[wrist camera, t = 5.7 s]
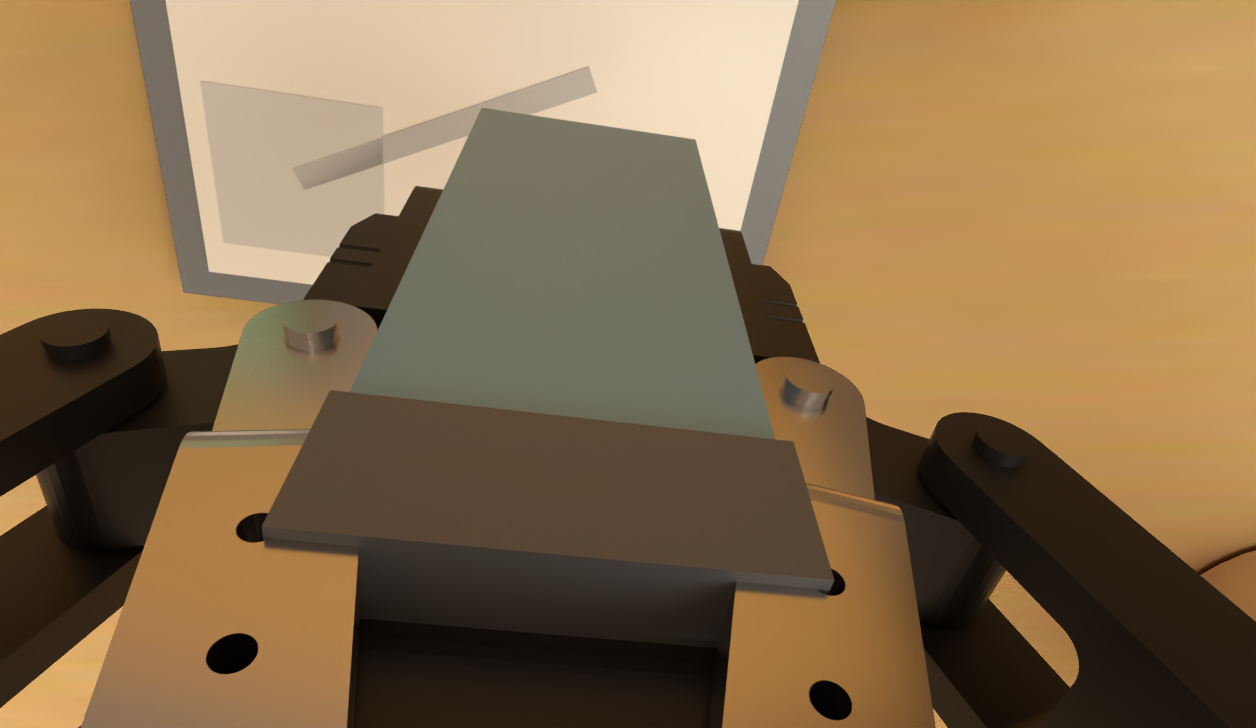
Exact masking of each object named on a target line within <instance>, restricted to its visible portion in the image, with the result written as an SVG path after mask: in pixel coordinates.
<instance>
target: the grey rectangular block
mask: <svg viewBox="0 0 1256 728" xmlns="http://www.w3.org/2000/svg"><path fill="white" fill-rule="evenodd" d="M262 533H263V540H264V541H265V540H268V539H270V538H272V539H283V540H294V541H305V542H315V543H326V544H337V545H348V546H359V558H360V577H361V596H362V602H361V619H372V620H384V621H396V622H408V623H420V624H432V625H444V626H456V627H468V628H480V629H492V630H504V631H516V632H528V633H540V634H552V635H564V636H576V637H588V638H600V639H612V640H624V641H636V642H648V643H660V644H672V645H684V646H696V647H708V648H718V639H719V630H720V627H721V624H722V621H723V618H724V615H725V613H726V610H727V607H728V604H729V601H730V598H731V595H732V592H733V589H734V586H735V584H736V581H739V582H749V583H760V584H771V585H782V586H793V587H804V588H814V589H816V590H818V591H819V592H821V593H823V594H826V595H828V593H829V591H830V589H831V587H832V584H833V582H834V577H833V574H832V570H831V567H830V564H829V560H828V557H827V554H826V550H825V547H824V543H823V540H822V537H821V533H820V530H819V526H818V523H817V520H816V516H815V513H814V509H813V506H812V503H811V499H810V496H809V492H808V489H807V486H806V482H805V479H804V476H803V472H802V469H801V465H800V462H799V459H798V455H797V452H796V448H795V445H794V442H793V441H785V440H776V439H775V436H774V433H773V429H772V425H771V421H770V418H769V414H768V410H767V406H766V403H765V399H764V395H763V391H762V388H761V384H760V380H759V376H758V372H757V369H756V365H755V361H754V357H753V354H752V350H751V346H750V342H749V339H748V335H747V331H746V327H745V324H744V320H743V316H742V312H741V309H740V305H739V301H738V297H737V294H736V290H735V286H734V282H733V279H732V275H731V271H730V267H729V264H728V260H727V256H726V252H725V249H724V245H723V241H722V237H721V234H720V230H719V226H718V222H717V219H716V215H715V211H714V207H713V204H712V200H711V196H710V192H709V189H708V185H707V181H706V177H705V173H704V170H703V166H702V162H701V158H700V155H699V151H698V147H697V143H696V140H695V139H689V138H682V137H676V136H669V135H662V134H655V133H649V132H642V131H635V130H628V129H622V128H615V127H608V126H602V125H595V124H588V123H581V122H575V121H568V120H561V119H554V118H548V117H541V116H534V115H527V114H521V113H514V112H507V111H501V110H494V109H487V108H481V110H480V112H479V114H478V116H477V119H476V121H475V123H474V125H473V127H472V129H471V132H470V134H469V136H468V138H467V140H466V142H465V144H464V147H463V149H462V151H461V153H460V155H459V157H458V159H457V162H456V164H455V166H454V168H453V170H452V172H451V174H450V177H449V179H448V181H447V183H446V185H445V187H444V189H443V192H442V194H441V196H440V198H439V200H438V202H437V204H436V207H435V209H434V211H433V213H432V215H431V217H430V219H429V222H428V224H427V226H426V228H425V230H424V232H423V234H422V237H421V239H420V241H419V243H418V245H417V247H416V250H415V252H414V254H413V256H412V258H411V260H410V262H409V265H408V267H407V269H406V271H405V273H404V275H403V277H402V280H401V282H400V284H399V286H398V288H397V290H396V292H395V295H394V297H393V299H392V301H391V303H390V305H389V307H388V310H387V312H386V314H385V316H384V318H383V320H382V322H381V325H380V327H379V329H378V331H377V333H376V335H375V337H374V340H373V342H372V344H371V346H370V348H369V350H368V352H367V355H366V357H365V359H364V361H363V363H362V365H361V368H360V370H359V372H358V374H357V376H356V378H355V380H354V383H353V385H352V387H351V389H350V391H349V392H343V391H334V390H330V391H329V393H328V395H327V397H326V399H325V401H324V403H323V405H322V407H321V409H320V411H319V413H318V415H317V417H316V419H315V421H314V423H313V425H312V427H311V429H310V431H309V433H308V435H307V437H306V439H305V441H304V443H303V445H302V447H301V449H300V451H299V453H298V455H297V457H296V459H295V461H294V463H293V465H292V467H291V469H290V471H289V473H288V475H287V477H286V479H285V481H284V483H283V485H282V487H281V489H280V491H279V493H278V495H277V497H276V499H275V501H274V503H273V505H272V507H271V509H270V511H269V513H268V515H267V517H266V519H265V521H264V523H263V525H262Z"/></svg>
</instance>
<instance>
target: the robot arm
mask: <svg viewBox="0 0 1256 728" xmlns="http://www.w3.org/2000/svg"><path fill="white" fill-rule="evenodd" d="M442 192H443V189H437V188H429V187H422V186H415V187H414V189H413V191H412V192H411V194H410V196H409V198H408V200H407V202H406V203H405V205H404V207H403V209H402V211H401V213H400V214H399V216H393V215H385V214H378V213H375V214H373V215H371V216H369V217H368V218H366V219H364V220H362V221H360V222H358V223H356V224H354V225H353V226H351V227H350V229H349V230H348V232H347V233H346V235H345V236H344V238H343V239H342V241H341V242H340V244H339V248H338V247H337V248H336V250H335V251H334V253H333V255H332V256H331V258H330V262H327V264H326V265H325V267H324V268H323V270H322V271H321V273H320V274H319V276H318V278H317V279H316V281H315V282H314V284H313V285H312V287H311V288H310V290H309V291H308V293H307V294H306V296H305V297H304V299H303V300H300V301H292V302H287V303H283V304H279V305H276V306H273V307H271V308H268V309H266V310H264V311H262V312H260V313H258V314H257V315H255V316H254V317H253V318H252V319H250V321H249V322H248V323H247V324H246V325H245V327H244V329H243V332H242V335H241V338H240V342H239V344H238V345H233V346H227V347H218V348H206V349H191V350H176V351H161V347H160V342H159V337H158V333H157V330H156V328H155V327H154V326H153V324H152V323H150V322H149V321H148V320H146V319H145V318H143V317H141V316H139V315H136V314H133V313H129V312H125V311H120V310H112V309H81V310H73V311H66V312H61V313H56V314H52V315H48V316H45V317H42V318H38V319H36V320H33V321H31V322H28V323H26V324H24V325H21V326H19V327H17V328H15V329H12V330H10V331H8V332H6V333H4V334H1V335H0V496H2V495H4V494H5V493H7V492H8V491H10V490H12V489H13V488H15V487H17V486H18V485H20V484H21V483H23V482H25V481H26V480H28V479H30V478H31V477H33V476H34V475H36V476H37V479H38V482H39V485H40V487H41V490H42V493H43V496H44V498H45V501H46V504H47V506H45V507H44V508H42V509H41V510H39V511H38V512H36V513H35V514H33V515H32V516H30V517H29V518H27V519H25V520H24V521H22V522H21V523H19V524H18V525H16V526H15V527H13V528H12V529H10V530H9V531H7V532H6V533H4V534H3V535H1V536H0V708H1V707H2V706H3V705H5V704H6V703H7V702H8V701H9V700H10V699H12V698H13V697H14V696H15V695H16V694H18V693H19V692H20V691H21V690H22V689H24V688H25V687H26V686H27V685H28V684H30V683H31V682H32V681H33V680H34V679H36V678H37V677H38V676H39V675H40V674H42V673H43V672H44V671H45V670H46V669H48V668H49V667H50V666H51V665H52V664H54V663H55V662H56V661H57V660H58V659H60V658H61V657H62V656H63V655H64V654H66V653H67V652H68V651H69V650H70V649H72V648H73V647H74V646H75V645H76V644H78V643H79V642H80V641H81V640H82V639H84V638H85V637H86V636H87V635H88V634H90V633H91V632H92V631H93V630H94V629H96V628H97V627H98V626H99V625H100V624H102V623H103V622H104V621H105V620H106V619H108V618H109V617H110V616H111V615H112V614H114V613H115V612H116V611H117V610H118V609H120V608H121V607H122V606H123V605H124V606H123V609H122V612H121V615H120V617H119V620H118V623H117V626H116V629H115V632H114V635H113V637H112V640H111V643H110V646H109V649H108V652H107V655H106V657H105V660H104V663H103V666H102V669H101V672H100V675H99V677H98V680H97V683H96V686H95V689H94V692H93V695H92V697H91V700H90V703H89V706H88V709H87V712H86V714H85V717H84V720H83V723H82V725H81V726H80V727H78V728H936V727H935V720H934V714H933V708H934V710H935V711H936V712H937V714H938V715H939V716H940V718H941V719H942V720H943V722H944V723H945V724H946V726H947V727H948V728H1256V550H1255V551H1251V552H1248V553H1245V554H1242V555H1240V556H1237V557H1235V558H1233V559H1230V560H1228V561H1225V562H1223V563H1221V564H1219V565H1217V566H1215V567H1213V568H1212V569H1210V570H1208V571H1206V572H1205V573H1203V574H1201V575H1199V574H1198V573H1197V572H1196V571H1195V570H1193V569H1192V568H1191V567H1190V566H1189V565H1187V564H1186V563H1185V562H1184V561H1183V560H1181V559H1180V558H1179V557H1178V556H1177V555H1175V554H1174V553H1173V552H1172V551H1171V550H1169V549H1168V548H1167V547H1166V546H1165V545H1163V544H1162V543H1161V542H1160V541H1159V540H1157V539H1156V538H1155V537H1154V536H1153V535H1151V534H1150V533H1149V532H1148V531H1147V530H1145V529H1144V528H1143V527H1142V526H1141V525H1139V524H1138V523H1137V522H1136V521H1135V520H1133V519H1132V518H1131V517H1130V516H1129V515H1127V514H1126V513H1125V512H1124V511H1123V510H1121V509H1120V508H1119V507H1118V506H1117V505H1115V504H1114V503H1113V502H1112V501H1111V500H1109V499H1108V498H1107V497H1106V496H1105V495H1103V494H1102V493H1101V492H1100V491H1099V490H1097V489H1096V488H1095V487H1094V486H1093V485H1091V484H1090V483H1089V482H1088V481H1087V480H1085V479H1084V478H1083V477H1082V476H1081V475H1079V474H1078V473H1077V472H1076V471H1075V470H1073V469H1072V468H1071V467H1070V466H1069V465H1067V464H1066V463H1065V462H1064V461H1063V460H1061V459H1060V458H1059V457H1058V456H1057V455H1055V454H1054V453H1053V452H1052V451H1051V450H1049V449H1048V448H1047V447H1046V446H1045V445H1043V444H1042V443H1041V442H1040V441H1039V440H1037V439H1036V438H1035V437H1033V436H1032V435H1030V434H1029V433H1027V432H1025V431H1024V430H1022V429H1020V428H1018V427H1016V426H1015V425H1013V424H1010V423H1008V422H1006V421H1003V420H1001V419H998V418H995V417H991V416H987V415H983V414H978V413H968V412H961V413H953V414H949V415H947V416H945V417H943V418H942V419H940V420H939V421H938V423H937V425H936V427H935V429H934V431H933V433H932V435H931V438H930V439H927V438H924V437H921V436H918V435H914V434H911V433H908V432H905V431H902V430H899V429H896V428H892V427H889V426H887V425H884V424H881V423H878V422H876V421H874V420H872V419H869V418H867V417H866V413H865V404H864V400H863V397H862V395H861V393H860V392H859V390H858V389H857V388H856V386H855V385H854V384H853V383H852V382H851V381H849V380H848V379H847V378H846V377H844V376H843V375H842V374H840V373H838V372H837V371H835V370H833V369H831V368H829V367H827V366H825V365H822V364H820V362H819V359H818V357H817V354H816V352H815V349H814V346H813V344H812V341H811V339H810V336H809V333H808V331H807V328H806V326H805V323H802V322H803V318H802V315H801V313H800V310H799V307H797V302H796V300H795V297H794V294H793V292H792V289H791V287H790V284H788V283H787V282H786V281H785V280H784V279H783V278H782V277H781V276H780V275H779V274H778V273H777V272H776V271H774V270H773V269H772V268H771V267H770V266H763V265H756V264H751V260H750V257H749V254H748V251H747V248H746V245H745V242H744V238H743V235H742V233H741V231H738V230H731V229H724V228H719V230H720V234H721V237H722V241H723V245H724V249H725V252H726V256H727V260H728V264H729V267H730V271H731V275H732V279H733V282H734V286H735V290H736V294H737V297H738V301H739V305H740V309H741V312H742V316H743V320H744V324H745V327H746V331H747V335H748V339H749V342H750V346H751V350H752V354H753V357H754V361H755V365H756V369H757V372H758V376H759V380H760V384H761V388H762V391H763V395H764V399H765V403H766V406H767V410H768V414H769V418H770V421H771V425H772V429H773V433H774V436H775V439H776V440H785V441H793V442H794V445H795V448H796V452H797V455H798V459H799V462H800V465H801V469H802V472H803V476H804V479H805V482H806V486H807V489H808V492H809V496H810V499H811V503H812V506H813V509H814V513H815V516H816V520H817V523H818V526H819V530H820V533H821V537H822V540H823V543H824V547H825V550H826V554H827V557H828V560H829V564H830V567H831V570H832V574H833V577H834V582H833V584H832V587H831V589H830V591H829V593H828V595H826V594H823V593H821V592H819V591H818V590H816V589H814V588H804V587H793V586H782V585H771V584H760V583H749V582H739V581H736V584H735V586H734V589H733V592H732V595H731V598H730V601H729V604H728V607H727V610H726V613H725V615H724V618H723V621H722V624H721V627H720V630H719V639H718V648H708V647H696V646H684V645H672V644H660V643H648V642H636V641H624V640H612V639H600V638H588V637H576V636H564V635H552V634H540V633H528V632H516V631H504V630H492V629H480V628H468V627H456V626H444V625H432V624H420V623H408V622H396V621H384V620H372V619H361V602H362V596H361V577H360V558H359V546H348V545H337V544H326V543H315V542H305V541H294V540H283V539H272V538H270V539H268V540H265V541H264V540H263V533H262V525H263V523H264V521H265V519H266V517H267V515H268V513H269V511H270V509H271V507H272V505H273V503H274V501H275V499H276V497H277V495H278V493H279V491H280V489H281V487H282V485H283V483H284V481H285V479H286V477H287V475H288V473H289V471H290V469H291V467H292V465H293V463H294V461H295V459H296V457H297V455H298V453H299V451H300V449H301V447H302V445H303V443H304V441H305V439H306V437H307V435H308V433H309V431H310V429H311V427H312V425H313V423H314V421H315V419H316V417H317V415H318V413H319V411H320V409H321V407H322V405H323V403H324V401H325V399H326V397H327V395H328V393H329V391H330V390H334V391H343V392H349V391H350V389H351V387H352V385H353V383H354V380H355V378H356V376H357V374H358V372H359V370H360V368H361V365H362V363H363V361H364V359H365V357H366V355H367V352H368V350H369V348H370V346H371V344H372V342H373V340H374V337H375V335H376V333H377V331H378V329H379V327H380V325H381V322H382V320H383V318H384V316H385V314H386V312H387V310H388V307H389V305H390V303H391V301H392V299H393V297H394V295H395V292H396V290H397V288H398V286H399V284H400V282H401V280H402V277H403V275H404V273H405V271H406V269H407V267H408V265H409V262H410V260H411V258H412V256H413V254H414V252H415V250H416V247H417V245H418V243H419V241H420V239H421V237H422V234H423V232H424V230H425V228H426V226H427V224H428V222H429V219H430V217H431V215H432V213H433V211H434V209H435V207H436V204H437V202H438V200H439V198H440V196H441V194H442ZM1006 570H1007V571H1008V572H1009V573H1010V574H1011V575H1012V576H1013V577H1014V578H1015V579H1016V580H1017V581H1018V583H1019V584H1020V585H1021V586H1022V587H1023V588H1024V589H1025V590H1026V591H1027V592H1028V593H1029V594H1030V595H1031V596H1032V597H1033V598H1034V599H1035V600H1036V601H1037V602H1038V603H1039V604H1040V605H1041V606H1042V607H1043V608H1044V609H1045V610H1046V611H1047V612H1048V613H1049V614H1050V616H1051V617H1052V618H1053V619H1054V620H1055V621H1056V622H1057V623H1058V624H1059V625H1060V626H1061V627H1062V628H1063V629H1064V630H1065V632H1066V633H1067V634H1068V636H1069V637H1070V639H1071V640H1072V642H1073V644H1074V646H1075V649H1076V651H1077V655H1078V659H1079V673H1078V676H1077V679H1076V681H1075V682H1074V684H1073V685H1072V686H1071V688H1070V687H1069V686H1068V685H1067V684H1066V683H1065V682H1064V681H1063V680H1062V679H1061V678H1060V676H1059V675H1058V674H1057V673H1056V672H1055V671H1054V670H1053V669H1052V668H1051V667H1050V666H1049V664H1048V663H1047V662H1046V661H1045V660H1044V659H1043V658H1042V657H1041V656H1040V655H1039V653H1038V652H1037V651H1036V650H1035V649H1034V648H1033V647H1032V646H1031V645H1030V644H1029V643H1028V641H1027V640H1026V639H1025V638H1024V637H1023V636H1022V635H1021V634H1020V633H1019V632H1018V631H1017V629H1016V628H1015V627H1014V626H1013V625H1012V624H1011V623H1010V622H1009V621H1008V620H1007V619H1006V617H1005V616H1004V615H1003V614H1002V613H1001V612H1000V611H999V610H998V609H997V608H996V607H995V605H994V604H993V603H992V602H991V601H990V600H989V597H990V595H991V594H992V592H993V591H994V589H995V587H996V586H997V584H998V583H999V581H1000V579H1001V578H1002V576H1003V575H1004V573H1005V571H1006Z"/></svg>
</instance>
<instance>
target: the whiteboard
mask: <svg viewBox="0 0 1256 728" xmlns="http://www.w3.org/2000/svg"><path fill="white" fill-rule="evenodd" d="M835 2H836V0H130V4H131V9H132V15H133V20H134V26H135V31H136V37H137V42H138V48H139V53H140V59H141V64H142V69H143V75H144V80H145V86H146V91H147V97H148V102H149V108H150V113H151V118H152V124H153V129H154V135H155V140H156V146H157V151H158V157H159V162H160V168H161V173H162V178H163V184H164V189H165V195H166V200H167V206H168V211H169V217H170V222H171V228H172V233H173V238H174V244H175V249H176V255H177V260H178V266H179V271H180V277H181V282H182V287H183V292H184V293H192V294H200V295H208V296H216V297H224V298H232V299H241V300H249V301H257V302H265V303H273V304H283V303H287V302H292V301H300V300H303V299H304V297H305V296H306V294H307V293H308V291H309V290H310V288H311V287H312V285H313V284H314V282H315V281H316V279H317V278H318V276H319V274H320V273H321V271H322V270H323V268H324V267H325V265H326V264H327V262H330V258H331V256H332V255H333V253H334V251H335V250H336V248H337V247H338V248H339V244H340V242H341V241H342V239H343V238H344V236H345V235H346V233H347V232H348V230H349V229H350V227H351V226H353V225H354V224H356V223H358V222H360V221H362V220H364V219H366V218H368V217H369V216H371V215H373V214H375V213H378V214H385V215H393V216H399V214H400V213H401V211H402V209H403V207H404V205H405V203H406V202H407V200H408V198H409V196H410V194H411V192H412V191H413V189H414V187H415V186H422V187H429V188H437V189H444V187H445V185H446V183H447V181H448V179H449V177H450V174H451V172H452V170H453V168H454V166H455V164H456V162H457V159H458V157H459V155H460V153H461V151H462V149H463V147H464V144H465V142H466V140H467V138H468V136H469V134H470V132H471V129H472V127H473V125H474V123H475V121H476V119H477V116H478V114H479V112H480V110H481V108H487V109H494V110H501V111H507V112H514V113H521V114H527V115H534V116H541V117H548V118H554V119H561V120H568V121H575V122H581V123H588V124H595V125H602V126H608V127H615V128H622V129H628V130H635V131H642V132H649V133H655V134H662V135H669V136H676V137H682V138H689V139H695V140H696V143H697V147H698V151H699V155H700V158H701V162H702V166H703V170H704V173H705V177H706V181H707V185H708V189H709V192H710V196H711V200H712V204H713V207H714V211H715V215H716V219H717V222H718V226H719V228H724V229H731V230H738V231H741V233H742V235H743V238H744V242H745V245H746V248H747V251H748V254H749V257H750V260H751V264H756V265H763V261H764V258H765V254H766V250H767V247H768V243H769V239H770V236H771V232H772V229H773V225H774V221H775V218H776V214H777V211H778V207H779V203H780V200H781V196H782V193H783V189H784V185H785V182H786V178H787V175H788V171H789V167H790V164H791V160H792V157H793V153H794V149H795V146H796V142H797V139H798V135H799V131H800V128H801V124H802V121H803V117H804V113H805V110H806V106H807V103H808V99H809V95H810V92H811V88H812V84H813V81H814V77H815V74H816V70H817V66H818V63H819V59H820V56H821V52H822V48H823V45H824V41H825V38H826V34H827V30H828V27H829V23H830V20H831V16H832V12H833V9H834V5H835Z"/></svg>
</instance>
